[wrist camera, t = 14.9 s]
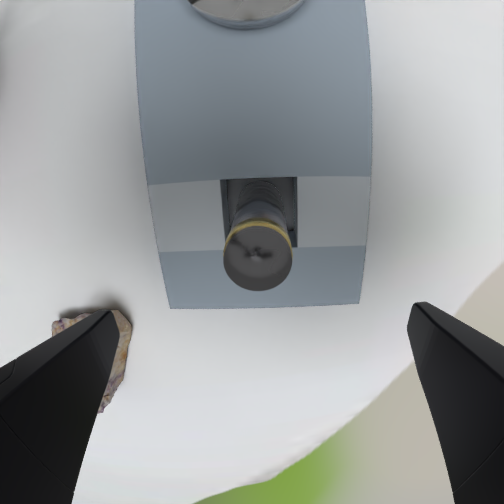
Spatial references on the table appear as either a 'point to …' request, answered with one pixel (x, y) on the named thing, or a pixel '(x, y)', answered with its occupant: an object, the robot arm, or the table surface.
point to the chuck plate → (257, 144)
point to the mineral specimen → (120, 355)
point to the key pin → (258, 240)
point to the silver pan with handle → (245, 12)
